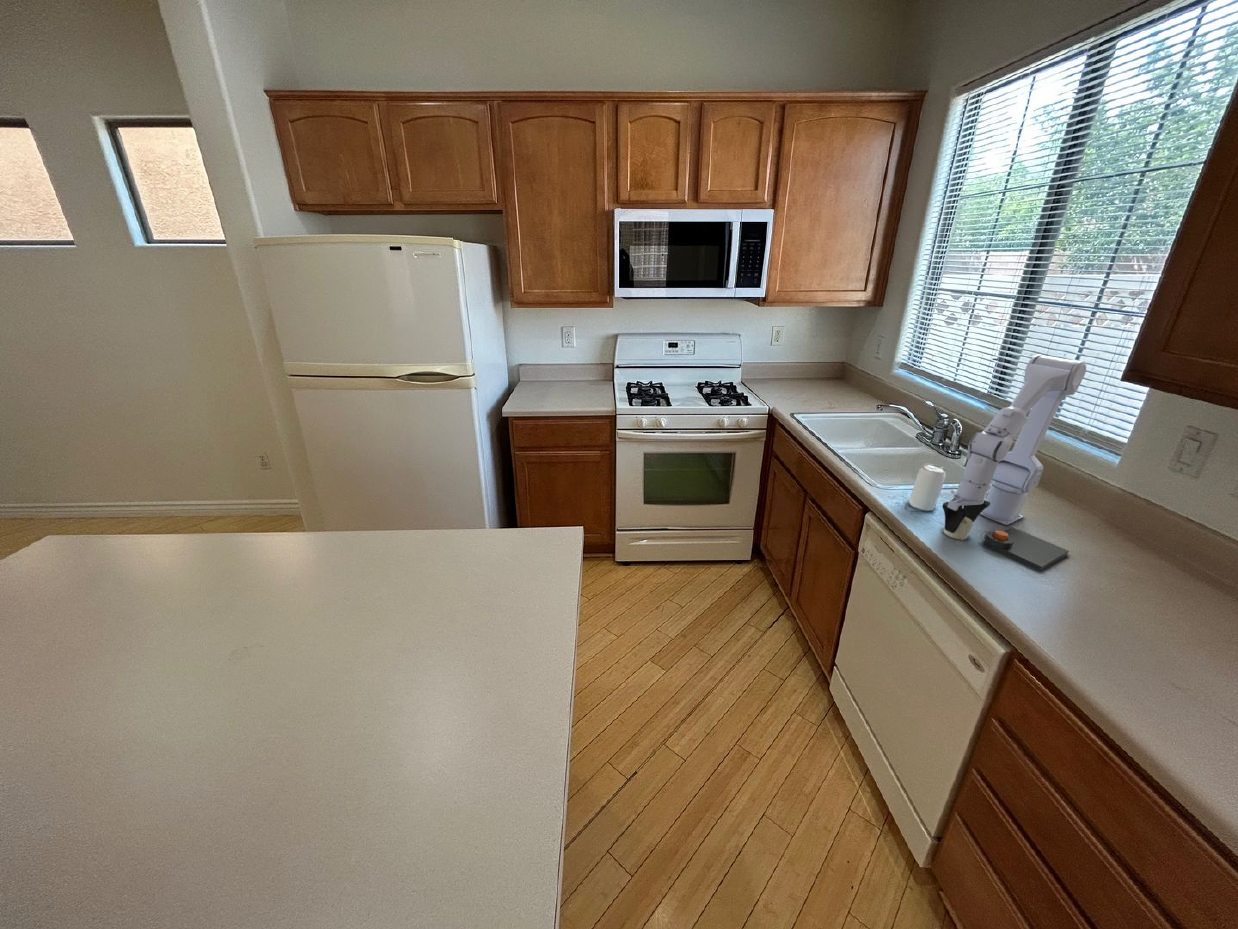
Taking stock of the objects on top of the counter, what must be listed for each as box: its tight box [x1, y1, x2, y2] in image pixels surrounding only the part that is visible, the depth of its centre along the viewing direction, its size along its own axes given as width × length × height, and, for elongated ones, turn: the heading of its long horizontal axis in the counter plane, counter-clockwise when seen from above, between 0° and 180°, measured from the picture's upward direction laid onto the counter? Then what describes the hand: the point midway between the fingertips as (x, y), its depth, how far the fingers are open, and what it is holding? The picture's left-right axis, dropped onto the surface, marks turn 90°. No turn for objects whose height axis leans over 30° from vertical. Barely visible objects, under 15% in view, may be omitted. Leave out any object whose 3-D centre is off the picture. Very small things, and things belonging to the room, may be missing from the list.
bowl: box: [943, 517, 974, 541], centre depth 121 cm, size 5×5×4 cm
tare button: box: [993, 529, 1008, 541], centre depth 116 cm, size 3×3×2 cm
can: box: [908, 463, 947, 512], centre depth 133 cm, size 6×6×12 cm
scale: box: [982, 526, 1069, 572], centre depth 116 cm, size 15×13×3 cm
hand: (957, 527), depth 121 cm, fingers open, 7 cm apart
